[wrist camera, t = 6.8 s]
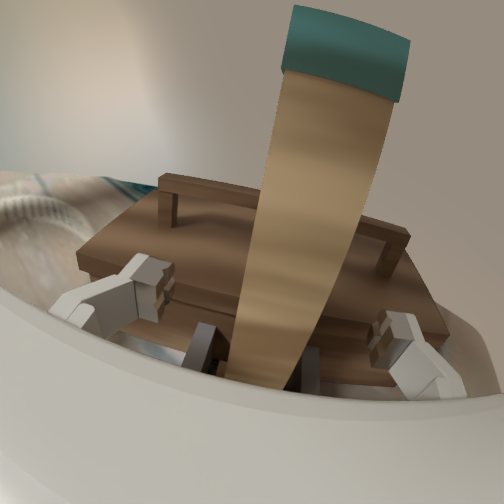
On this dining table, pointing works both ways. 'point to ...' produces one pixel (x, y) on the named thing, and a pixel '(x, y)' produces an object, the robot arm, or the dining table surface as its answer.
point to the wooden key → (312, 185)
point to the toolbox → (232, 274)
